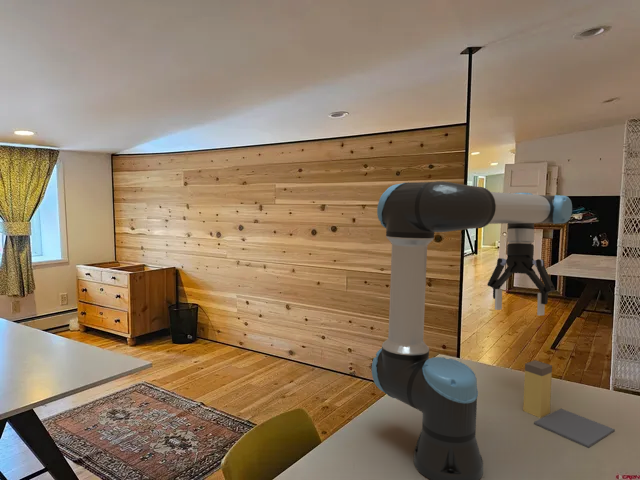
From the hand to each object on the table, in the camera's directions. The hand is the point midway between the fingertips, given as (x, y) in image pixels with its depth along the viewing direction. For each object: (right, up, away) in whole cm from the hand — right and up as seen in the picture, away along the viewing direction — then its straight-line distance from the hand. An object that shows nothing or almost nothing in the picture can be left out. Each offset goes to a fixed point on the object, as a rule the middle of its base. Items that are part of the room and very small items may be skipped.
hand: (518, 312), depth 132 cm
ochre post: (+1, -27, -9) cm, 29 cm away
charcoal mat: (+6, -28, -18) cm, 33 cm away
